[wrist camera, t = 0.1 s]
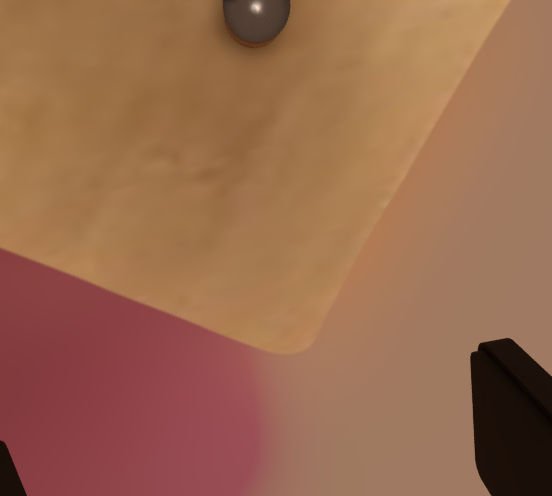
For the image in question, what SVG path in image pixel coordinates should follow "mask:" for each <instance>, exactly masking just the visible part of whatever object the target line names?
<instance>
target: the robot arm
mask: <svg viewBox="0 0 552 496" xmlns="http://www.w3.org/2000/svg"><path fill="white" fill-rule="evenodd" d="M470 361H471V382H472V403H473V423H474V444H475V461H476V466H477V469H478V473H479V475H480V478H481V479H482V481H483V483H484V485H485V486H486V488H487V489H488V491H489V493H490V494H491V496H552V376H550V374H548V373H547V372H546V371H545V370H544V369H543V368H542V367H541V366H540V365H539V364H538V363H537V362H536V361H534V360H533V359H532V358H531V357H530V356H529V355H528V354H527V353H526V352H525V351H524V350H523V349H522V348H521V347H519V346H518V345H517V344H516V343H515V342H514V341H513V340H512V339H510V338H505V339H499V340H494V341H489V342H483V343H480V344H479V346H478V351H476V352H472V353H471V356H470ZM0 496H27V495H26V493H25V490H24V488H23V485H22V483H21V480H20V478H19V476H18V473H17V471H16V468H15V466H14V463H13V461H12V458H11V456H10V453H9V451H8V448H7V446H6V444H5V443H4V442H3V441H0Z"/></svg>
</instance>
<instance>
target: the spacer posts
mask: <svg viewBox="0 0 552 496" xmlns="http://www.w3.org/2000/svg"><path fill="white" fill-rule="evenodd" d="M223 9H224V16H225V22H226V26H227V29H228V31H229V33H230V35H231V36H232V37H233V38H234V39H235V40H236V41H237V42H238V43H240V44H241V45H243V46H246V47H250V48H258V47H262V46H264V45H266V44H268V43H270V42H271V41H272V40H273V39H274V38H275V37H276V36H277V35H278V34H279V33H280V31H281V30H282V29H283V28H284V26H285V24H286V22H287V20H288V17H289V13H290V0H223Z"/></svg>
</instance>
